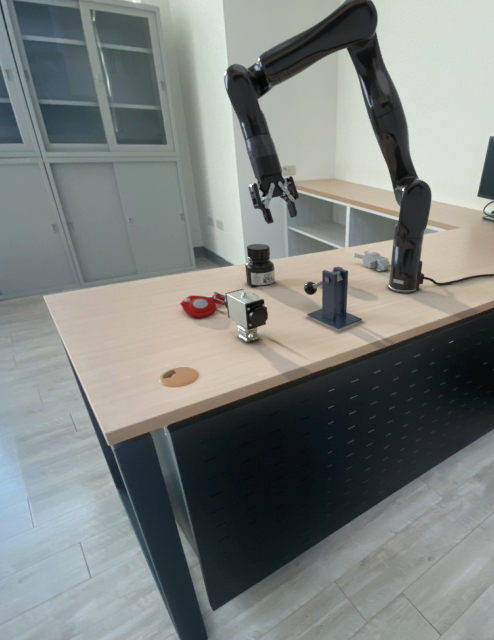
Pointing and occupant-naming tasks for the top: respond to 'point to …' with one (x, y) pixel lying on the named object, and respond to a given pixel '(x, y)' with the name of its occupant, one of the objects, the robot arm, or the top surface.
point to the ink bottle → (259, 266)
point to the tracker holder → (202, 305)
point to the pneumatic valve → (246, 312)
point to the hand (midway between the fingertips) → (282, 220)
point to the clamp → (334, 301)
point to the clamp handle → (318, 284)
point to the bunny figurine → (374, 260)
